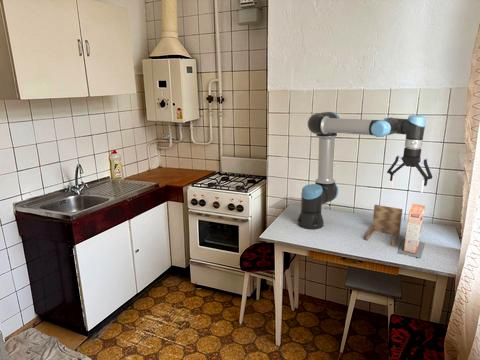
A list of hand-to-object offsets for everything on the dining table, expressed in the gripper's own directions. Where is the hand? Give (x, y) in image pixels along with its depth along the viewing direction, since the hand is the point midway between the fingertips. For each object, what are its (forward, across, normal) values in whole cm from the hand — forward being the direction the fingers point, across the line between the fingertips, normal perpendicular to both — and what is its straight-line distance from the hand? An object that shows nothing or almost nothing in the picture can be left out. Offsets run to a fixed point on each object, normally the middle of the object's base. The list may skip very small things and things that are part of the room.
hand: (406, 189), depth 173 cm
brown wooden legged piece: (+29, -9, +1) cm, 30 cm away
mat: (+29, +6, -5) cm, 30 cm away
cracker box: (+28, +7, -5) cm, 29 cm away
